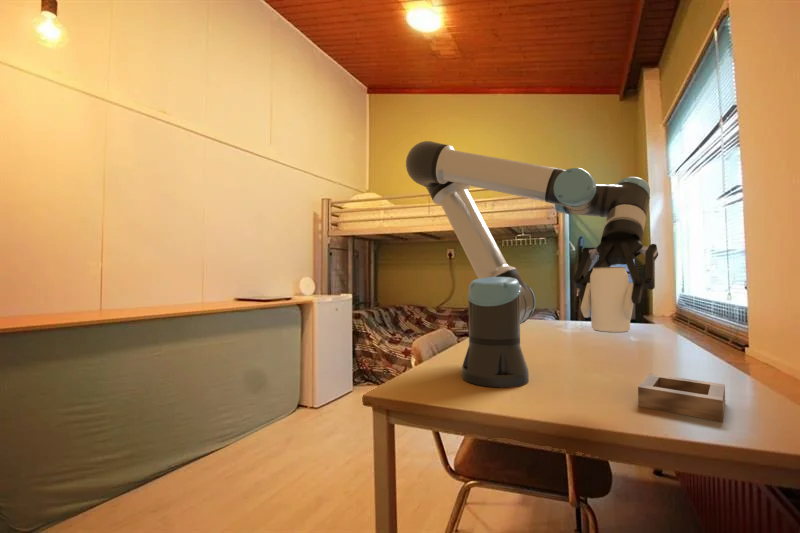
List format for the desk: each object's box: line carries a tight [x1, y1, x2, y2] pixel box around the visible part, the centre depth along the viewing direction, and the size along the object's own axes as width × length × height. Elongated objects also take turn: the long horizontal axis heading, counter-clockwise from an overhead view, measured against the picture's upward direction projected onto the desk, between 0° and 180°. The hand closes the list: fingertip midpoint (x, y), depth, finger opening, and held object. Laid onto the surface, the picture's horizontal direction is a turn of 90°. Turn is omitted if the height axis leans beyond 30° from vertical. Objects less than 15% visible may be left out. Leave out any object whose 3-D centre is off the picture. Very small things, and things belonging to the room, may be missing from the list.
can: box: [590, 266, 631, 334], centre depth 74 cm, size 6×6×12 cm
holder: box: [637, 373, 726, 423], centre depth 72 cm, size 12×12×4 cm
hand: (605, 313), depth 71 cm, fingers closed on can, 6 cm apart
